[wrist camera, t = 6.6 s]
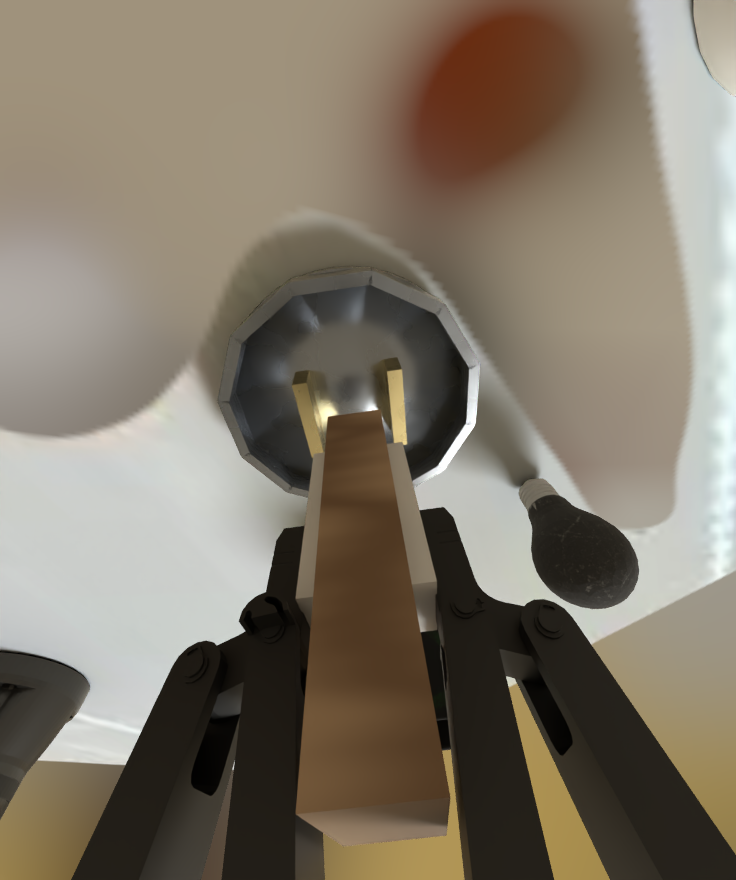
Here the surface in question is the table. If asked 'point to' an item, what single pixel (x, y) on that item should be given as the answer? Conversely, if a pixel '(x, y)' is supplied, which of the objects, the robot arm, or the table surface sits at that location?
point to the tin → (348, 372)
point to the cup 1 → (436, 684)
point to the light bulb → (577, 550)
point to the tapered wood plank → (367, 660)
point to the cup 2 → (718, 39)
